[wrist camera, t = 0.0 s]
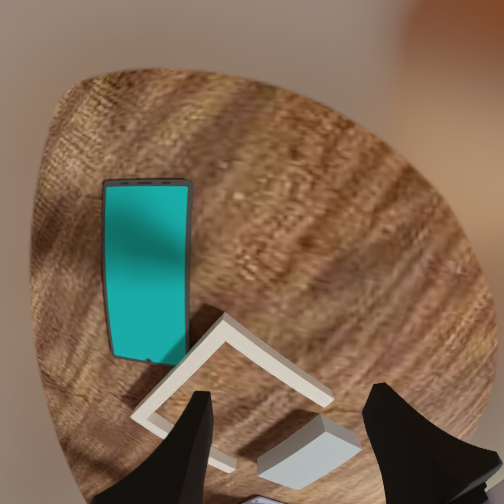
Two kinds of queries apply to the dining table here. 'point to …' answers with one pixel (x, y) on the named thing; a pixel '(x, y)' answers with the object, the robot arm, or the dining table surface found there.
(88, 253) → the dining table surface
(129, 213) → the smartphone
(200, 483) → the robot arm
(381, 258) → the dining table surface
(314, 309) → the dining table surface
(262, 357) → the cream u-shaped bracket
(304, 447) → the light gray box
